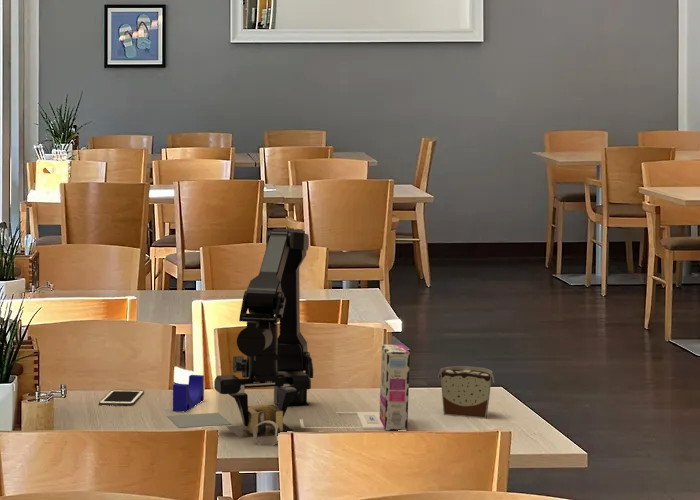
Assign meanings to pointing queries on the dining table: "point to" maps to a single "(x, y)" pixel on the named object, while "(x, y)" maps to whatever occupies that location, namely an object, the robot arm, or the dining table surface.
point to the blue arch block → (188, 393)
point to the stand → (262, 428)
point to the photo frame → (366, 420)
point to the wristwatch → (277, 430)
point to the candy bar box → (394, 387)
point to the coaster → (198, 420)
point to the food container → (465, 391)
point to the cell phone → (121, 397)
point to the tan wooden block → (271, 415)
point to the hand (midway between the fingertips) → (262, 424)
